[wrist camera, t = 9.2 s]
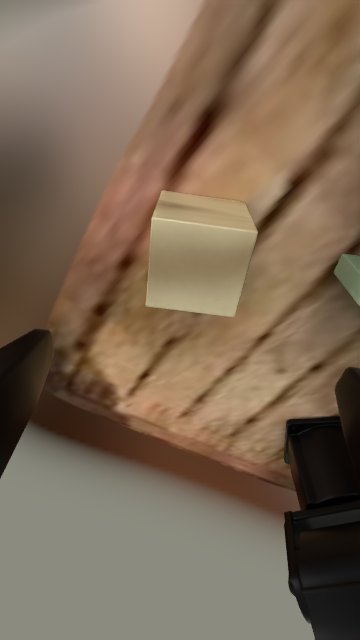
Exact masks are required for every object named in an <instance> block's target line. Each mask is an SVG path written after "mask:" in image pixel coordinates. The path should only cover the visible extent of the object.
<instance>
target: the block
mask: <svg viewBox="0 0 360 640" xmlns="http://www.w3.org/2000/svg"><path fill="white" fill-rule="evenodd" d="M257 235H258V231H257V229H256V226H255V224H254V222H253V220H252V217H251V215H250V213H249V211H248V208H247V206H246V204H245V202H241V201H234V200H227V199H220V198H213V197H206V196H198V195H191V194H184V193H177V192H170V191H162V192H161V194H160V197H159V200H158V202H157V205H156V208H155V211H154V213H153V216H152V220H151V235H150V250H149V265H148V280H147V295H146V306H147V307H155V308H163V309H171V310H179V311H187V312H194V313H202V314H210V315H218V316H226V317H234V316H235V313H236V310H237V306H238V302H239V299H240V295H241V292H242V288H243V285H244V281H245V278H246V274H247V270H248V267H249V263H250V260H251V256H252V253H253V249H254V245H255V242H256V238H257Z"/></svg>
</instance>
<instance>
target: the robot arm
mask: <svg viewBox="0 0 360 640" xmlns="http://www.w3.org/2000/svg"><path fill="white" fill-rule="evenodd" d="M53 357H54V348H53V342H52V336H51V332H50V331H49V330H43V329H34V330H32V331H30V332H28V333H27V334H25V335H23V336H22V337H20V338H18V339H16V340H14V341H13V342H11V343H9V344H7V345H6V346H4V347H2V348H0V478H1V476H2V474H3V472H4V470H5V468H6V466H7V464H8V462H9V459H10V458H11V456H12V454H13V451H14V449H15V447H16V445H17V443H18V441H19V439H20V437H21V435H22V433H23V431H24V429H25V427H26V425H27V423H28V421H29V419H30V417H31V415H32V413H33V411H34V409H35V406H36V404H37V402H38V399H39V397H40V394H41V391H42V389H43V386H44V383H45V380H46V377H47V374H48V372H49V369H50V366H51V363H52V360H53ZM335 395H336V399H337V404H338V409H339V414H340V417H329V418H312V419H294V420H289V421H288V422H287V423H286V435H285V449H284V460H285V463H286V464H289V465H290V469H291V473H292V477H293V480H294V484H295V488H296V492H297V496H298V500H299V504H300V508H301V510H300V511H295V512H292V511H288V512H285V513H284V515H285V524H284V528H285V539H286V550H287V560H288V570H289V581H288V584H289V589H290V591H291V593H292V594H293V595H294V596H295V597H296V599H297V602H298V605H299V607H300V610H301V612H302V614H303V616H304V618H305V619H306V621H307V622H308V623H310V624H311V625H312V629H313V632H314V636H315V640H360V368H353V367H349V368H347V369H346V370H345V371H344V373H343V374H342V376H341V378H340V379H339V381H338V382H337V384H336V387H335Z"/></svg>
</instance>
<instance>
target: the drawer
mask: <svg viewBox="0 0 360 640" xmlns="http://www.w3.org/2000/svg"><path fill="white" fill-rule="evenodd" d="M334 274H335V275H336V277H337V278H338V279H339V281H340V282H341V283H342V285H343V286H344V287H345V288H346V290H347V291H348V292H349V294H350V295H351V296H352V298H353V299H354V300H355V301H356V303H357V304H358V305H359V307H360V256H357V255H350V254H342V255H341V257H340V259H339V262H338V264H337V266H336V268H335V270H334Z"/></svg>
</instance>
